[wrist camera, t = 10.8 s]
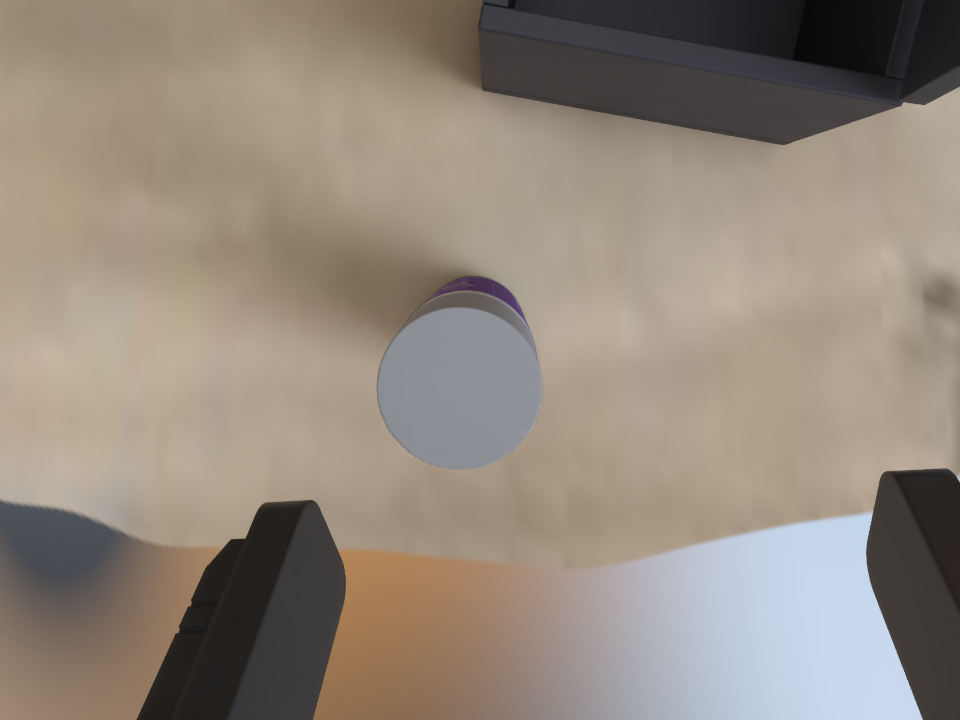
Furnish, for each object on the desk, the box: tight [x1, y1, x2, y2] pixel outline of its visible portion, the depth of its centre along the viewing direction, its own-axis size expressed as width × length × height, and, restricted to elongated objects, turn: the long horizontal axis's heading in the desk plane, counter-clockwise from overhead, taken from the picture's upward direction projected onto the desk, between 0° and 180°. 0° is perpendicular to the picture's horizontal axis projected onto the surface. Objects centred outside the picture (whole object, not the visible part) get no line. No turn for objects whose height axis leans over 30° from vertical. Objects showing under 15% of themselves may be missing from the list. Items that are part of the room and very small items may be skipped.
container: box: [377, 276, 542, 469], centre depth 28 cm, size 5×5×15 cm
